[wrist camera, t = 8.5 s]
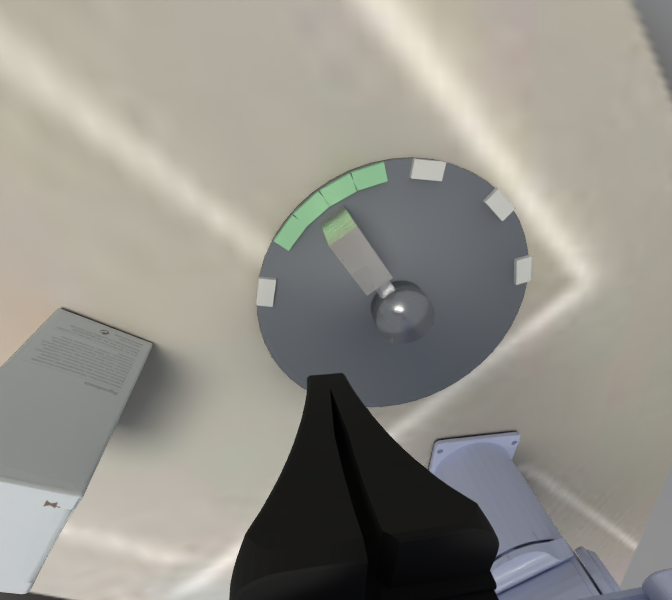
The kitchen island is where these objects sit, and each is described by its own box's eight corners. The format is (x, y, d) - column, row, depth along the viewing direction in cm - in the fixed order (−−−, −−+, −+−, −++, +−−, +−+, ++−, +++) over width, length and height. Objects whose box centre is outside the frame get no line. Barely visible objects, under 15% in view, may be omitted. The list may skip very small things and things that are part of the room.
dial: (489, 390, 30) (495, 398, 30) (266, 411, 28) (266, 420, 27) (558, 157, 22) (569, 159, 21) (243, 155, 19) (242, 158, 18)
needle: (433, 308, 25) (458, 341, 21) (388, 337, 25) (405, 374, 22) (358, 194, 20) (375, 213, 17) (305, 232, 21) (311, 258, 18)
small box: (60, 304, 21) (-96, 458, 12) (156, 342, 24) (84, 496, 14) (20, 397, 24) (-132, 581, 15) (111, 424, 26) (25, 599, 17)
